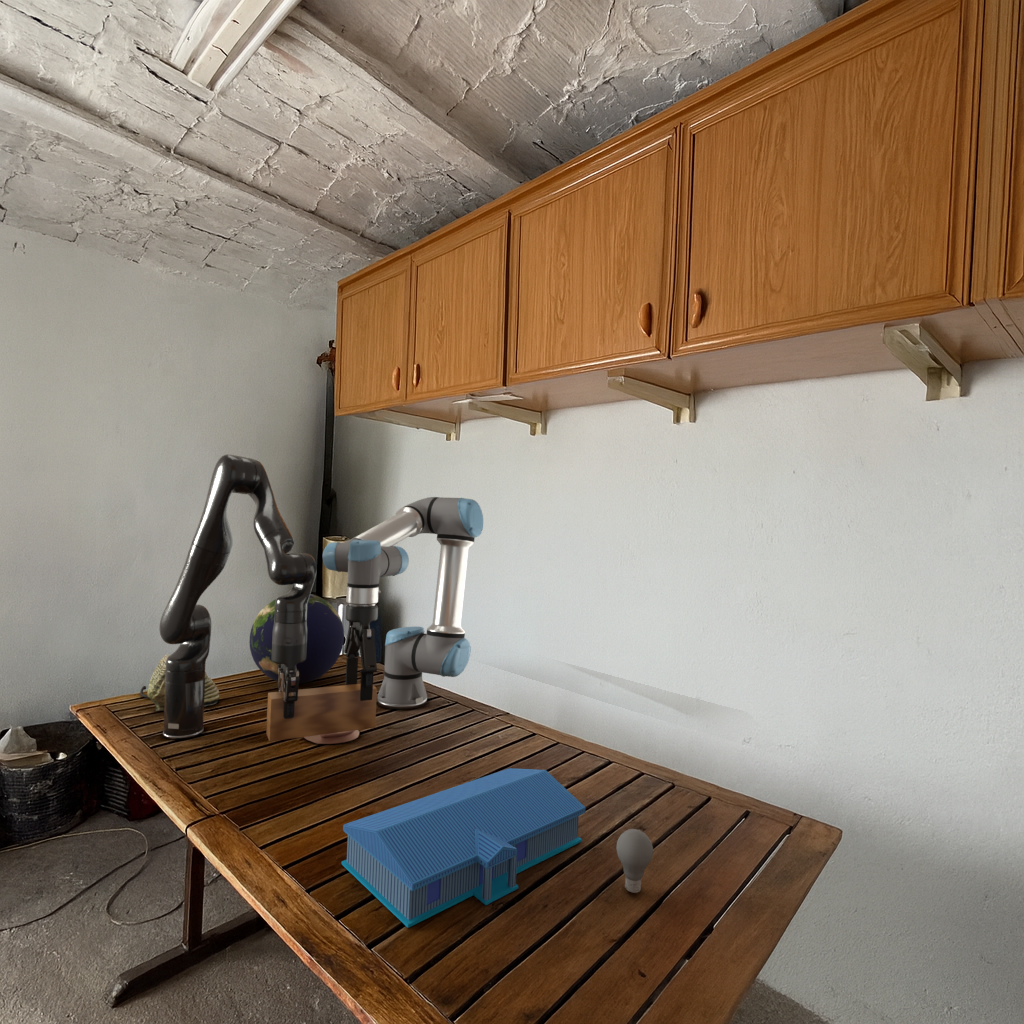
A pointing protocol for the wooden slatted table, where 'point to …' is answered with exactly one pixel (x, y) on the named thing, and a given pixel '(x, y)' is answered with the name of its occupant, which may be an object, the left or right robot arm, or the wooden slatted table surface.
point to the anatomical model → (334, 737)
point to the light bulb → (634, 857)
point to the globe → (321, 640)
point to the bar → (320, 712)
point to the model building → (462, 842)
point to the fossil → (158, 687)
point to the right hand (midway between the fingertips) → (358, 691)
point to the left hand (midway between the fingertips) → (286, 713)
